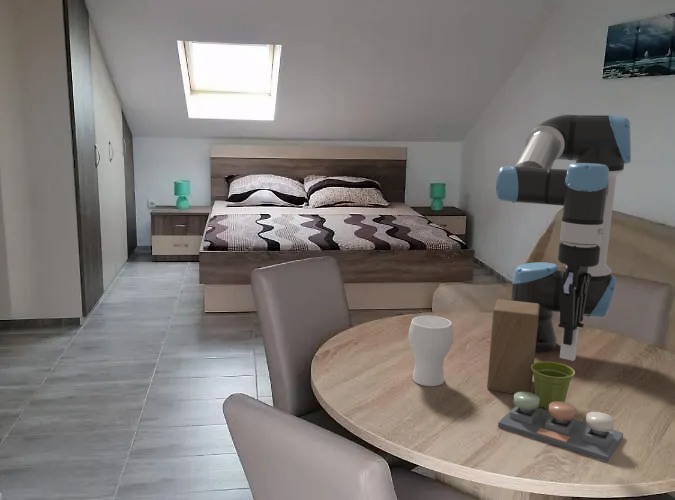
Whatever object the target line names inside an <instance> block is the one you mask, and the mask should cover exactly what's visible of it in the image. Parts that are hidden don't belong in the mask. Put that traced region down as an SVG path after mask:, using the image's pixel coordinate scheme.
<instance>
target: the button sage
mask: <svg viewBox="0 0 675 500" xmlns="http://www.w3.org/2000/svg"><path fill="white" fill-rule="evenodd" d="M539 400H540V398H539V397H538V396H537V395H535V393H533V392H531V393H530V392H517V393H515V394H514V395H513V405H514V406H517V407H520V410H521V411H522V412H526V413H529V412H531V410H532V409H536V408H539Z"/></svg>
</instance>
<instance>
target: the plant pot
mask: <svg viewBox="0 0 675 500" xmlns="http://www.w3.org/2000/svg"><path fill="white" fill-rule="evenodd" d="M531 370H532V371H533V382H534V394H535V395H537V396H538V397H539V398H540V400H539V407H540V408H543V409H545V410H547V411H549V404H550V403H551V402H556V401H559V402H566V397H567V394H568V391H569V387H570V383H571V382H572V380H573V377H574V376H575V374H576V371H575V370H574V369H573V368H572V367H570V366H569V365H567V364H564V363H561V362H560V363H559V362H555V361H554V362H553V361H546V360H545V361H536V362H534V363H533V364H532V365H531ZM539 407H538V408H539Z"/></svg>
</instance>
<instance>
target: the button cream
mask: <svg viewBox="0 0 675 500" xmlns="http://www.w3.org/2000/svg"><path fill="white" fill-rule="evenodd" d="M585 422H586V425H587V426H588V427H590V428H591V429H592V431H593V432H594V433H596V434H599V435H603V434H605V432H608V431H612V430H614V428H615V418H614V417H613V416H611V415H609V414H607V413H604V412H599V411H590V412H588V413H586V416H585Z"/></svg>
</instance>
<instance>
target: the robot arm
mask: <svg viewBox="0 0 675 500" xmlns="http://www.w3.org/2000/svg"><path fill="white" fill-rule="evenodd" d="M524 144H525V145H524V147H525V148H524V149H523V152H521V153H522V154H521V155H520V157H519V158H518V160H517V162H516V164H515V165H510V166H509V165H508V166H506V165H505V166H501V167H500V168H499V169H498V172H497V175H496V182H495V194H496V195H495V196H496V197H497V199H498V200H500V201H503V202H504V201H505V202H511V203H512V204H513V203H519V204H520V203H521V204H522V203H523V204H534V205H535V204H537V205H538V204H539V205H551V206H562V207H563V209H562V218H561V222H560V223H561V224H560V230H559V231H560V233H559V240H560V241H561V242H560V243H559V246H558V255H557V260H558V262H559V263H560V264H565V270H560V269H559V267H558V265H557V264H556V263H552V262H551V263H550V262H542V261H541V262H540V261H539V262H537V261H536V262H528V263H522V264H520V265H517V267H515V269H514V271H513V277H512V278H513V279H512V281H511V283H512V286H511V287H512V288H511V299H510V300H511V301H520V302H529V303H538V304H539V305H540V307H539V317H538V328H537V338H536V349H535V353H541V352H550V351H552V350H554V349H555V348H556V347H557V342H558V341H557V340H558V338H557V333H556V330H555V326H554V321H553V318H554V317H553V316H554V312H555V313H559V324H558V325H557V326H558V328H562V331H561V332H562V333H561V341H560V351H559V358H560V359H562V360H563V359H564V360H568V361H573V362H574V361H575V360H576V357H577V349H578V348H577V347H578V339H579V330H580V328H581V329H582V328H584V326H585V323H582V322H583V321H584V317H588V318H590V317H591V318H604V317H605V316H606V317H607V314H608V313H609V310H610V307H611V303H612V300H613V296H614V291H615V287H616V282H617V277H615V276H614V275H612V269H611V268H610V266H609V265H608V264H607V259H608V251H609V250H608V249H609V242H610V233H611V224H612V214H613V209H614V208H613V206H614V198H615V189H616V184H617V183H616V182H617V176H618V175H619V174H621V173H622V172H624V168H625V164H626V165H628V164H630V163H631V162H632V161H631V160H632V156H631V155H632V154H631V151H632V150H631V122H630V120H629V118H628V117H626V116H621V115H620V116H619V115H612V114H607V115H606V114H605V115H604V114H603V115H602V114H601V115H600V114H599V115H598V114H593V115H592V114H561V115H558V116H553V117H550V118H549V119H546V120H544V121H542V122H540V123H539V124H537V125H536V126H534V128H532V129H531V130H530V132H529V133H528V135H527V137H526V139H525V143H524ZM556 160H560V161H561V160H563V161H564V160H566V161H575V162H573V163H571V164H569V165H568V166H567V169H564V168H562V169H561V168H559V169H557V168H552V167H553V165H554V163H555V162H556Z"/></svg>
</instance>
